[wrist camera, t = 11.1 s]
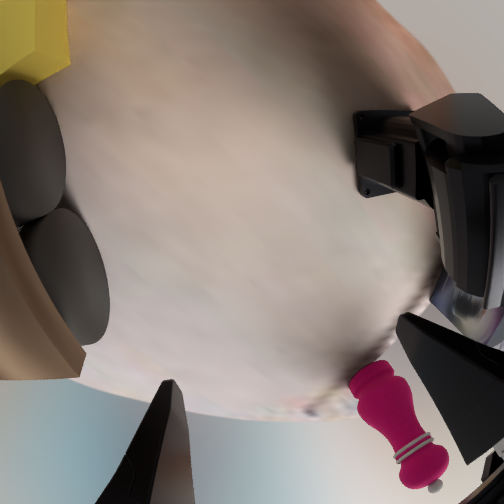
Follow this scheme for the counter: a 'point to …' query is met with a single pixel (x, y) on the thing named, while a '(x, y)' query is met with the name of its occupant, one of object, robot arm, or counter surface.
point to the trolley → (43, 249)
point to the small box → (468, 312)
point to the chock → (32, 39)
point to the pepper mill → (399, 425)
